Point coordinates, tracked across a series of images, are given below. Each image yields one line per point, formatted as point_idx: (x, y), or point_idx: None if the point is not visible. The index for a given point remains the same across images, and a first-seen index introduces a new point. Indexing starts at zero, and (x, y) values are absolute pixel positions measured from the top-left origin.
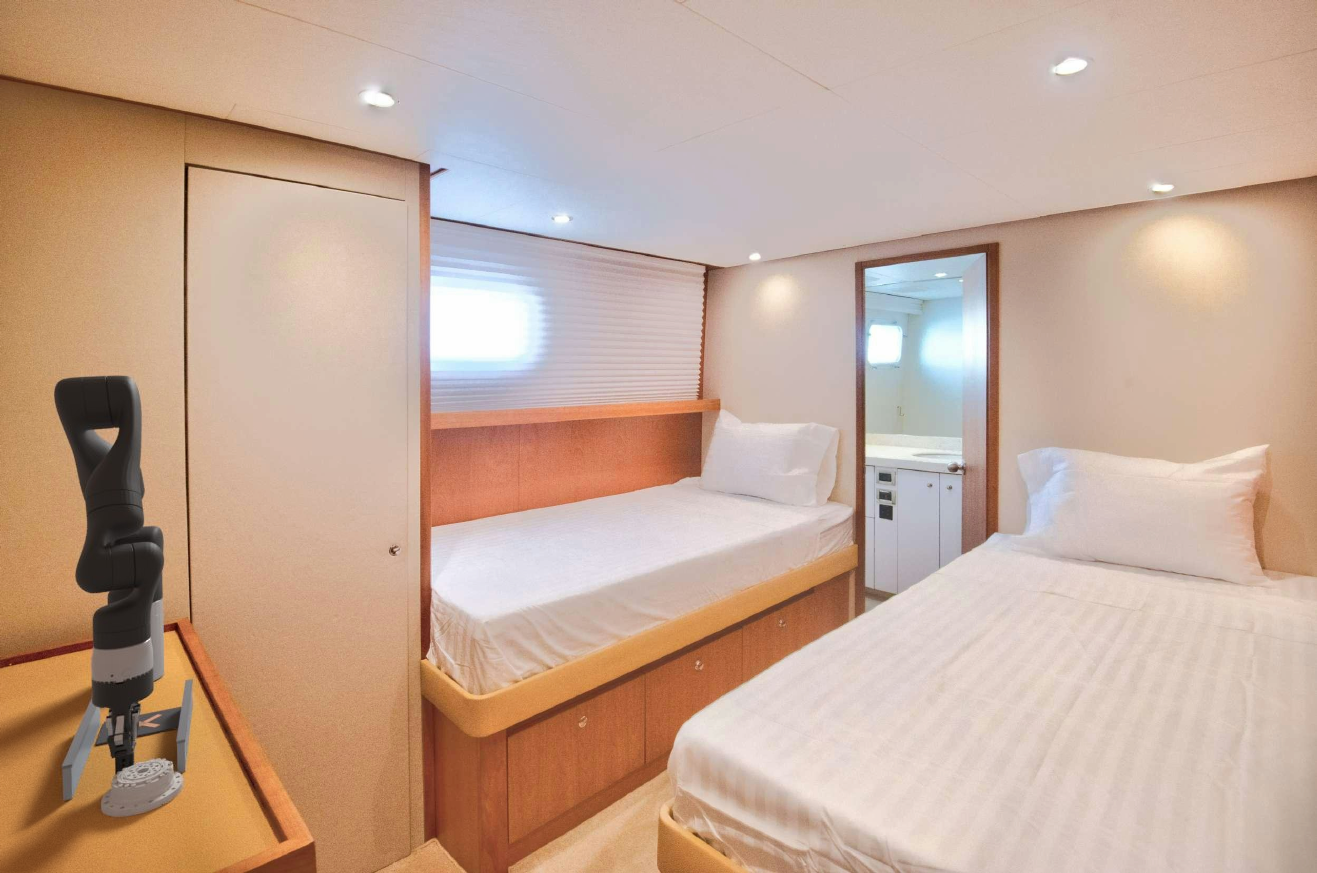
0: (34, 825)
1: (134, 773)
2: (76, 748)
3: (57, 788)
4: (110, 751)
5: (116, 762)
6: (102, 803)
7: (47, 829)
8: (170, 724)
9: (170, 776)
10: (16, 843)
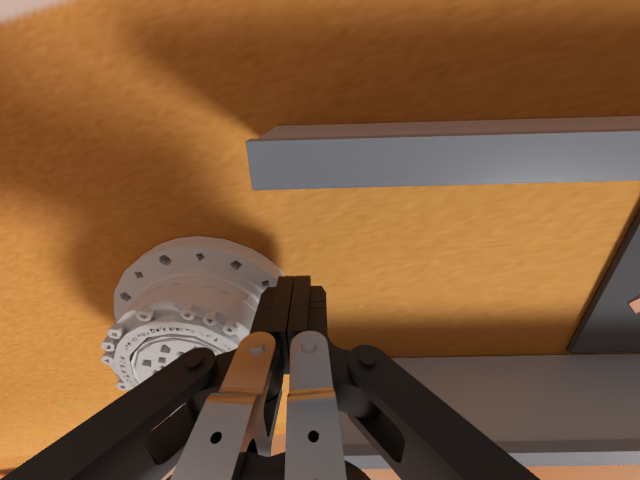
0: (139, 64)
1: (173, 359)
2: (458, 173)
3: (389, 83)
4: (103, 409)
5: (271, 313)
6: (164, 251)
7: (103, 115)
8: (609, 333)
9: None
10: (30, 31)
